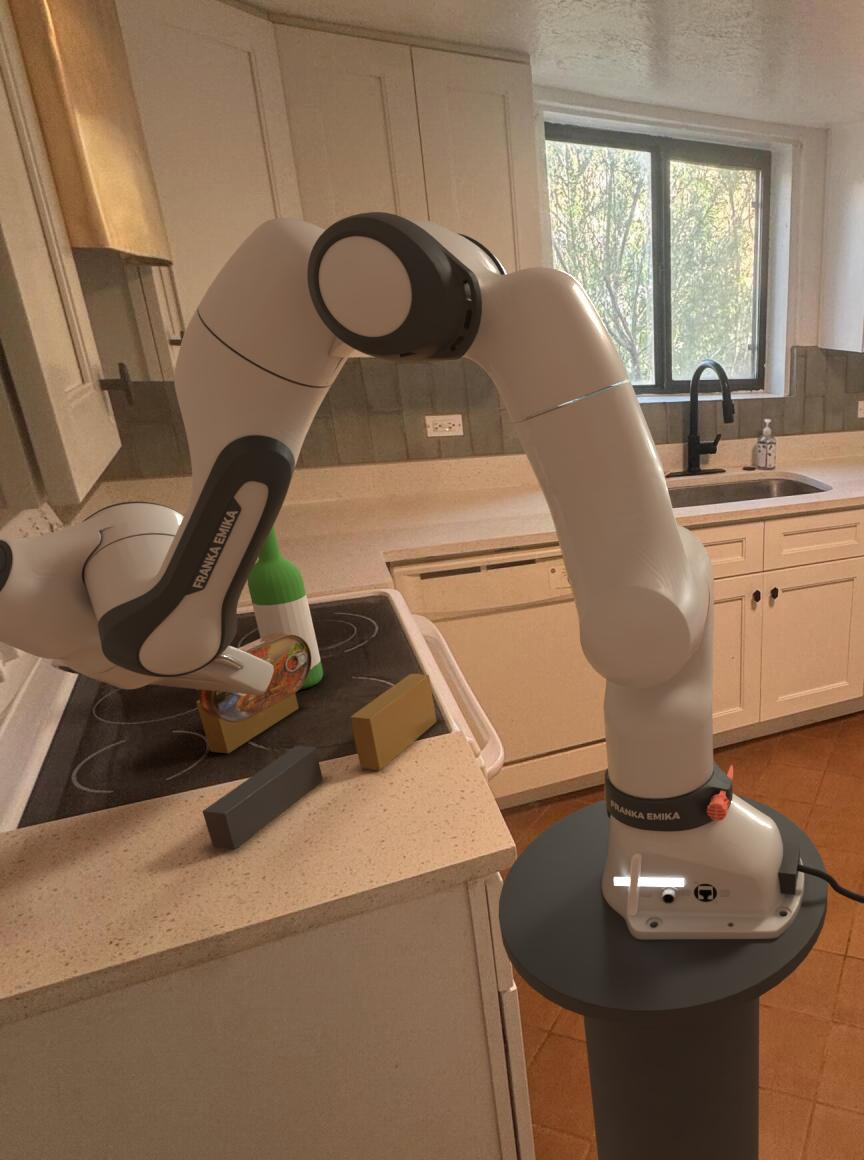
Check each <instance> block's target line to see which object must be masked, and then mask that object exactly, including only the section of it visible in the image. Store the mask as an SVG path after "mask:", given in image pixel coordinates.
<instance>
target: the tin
mask: <svg viewBox="0 0 864 1160" xmlns="http://www.w3.org/2000/svg"><path fill="white" fill-rule="evenodd" d="M236 648H237V649H240V650H242V651H245V652H247V653H249V654H251V655H254V656H256V657H258V658H260V659H262V660H264V661H267V662H269V663H270V664H272V665H273V668H274V672H273V675H272V678H271V681H270V683H269V685H268V687H267V689H266V691H265V693H264V694H262V695H251V694H246V695H245V696H235V695H231V694H229V693H226V692H221V691H211V690H201V689H198V690H197V691H198V692H197V693H198V700H200V704H201V706H202V708H203V710H204V711H205V712H206V713H207V714H209V715H210V716H212V717H215V718H219V719H223V720H225V721H228V722H241V721H244V720H247V719H249V718H250V717H252V716H254V715H256V714H258V713H260V712H261V711H263V710H265V709H267V708H269V707H271V706H272V705H274V704H276V703H278V702H280V701H282V700H284V699H286V698H287V697H289V696H291V695H293V694H294V693H295V694H296V693H297V692H298V691H300V690H299V689H300V688H301V687H302V686H303V684H304V683H305V681H306V679H307V677H308V675H309V672H310V668H311V652H310V648H309V646H308V644H307V643H306V641H305V640H304V639H302V638H301V637H299V636H296V635H287V634H281V633H274V634H269V635H267V636H264V637H262V638H257V639H255V640H253V641H251V642H248V643H247V644H244V645H242V646H240V647H236Z"/></svg>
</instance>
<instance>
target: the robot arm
mask: <svg viewBox="0 0 864 1160" xmlns="http://www.w3.org/2000/svg"><path fill="white" fill-rule="evenodd" d="M213 279H214V280H213V281H212V283H211V284H210V286H209V287H208V288H207V290H206V291H205V293H204V296H203V297H202V298H201V301H200V302H199V304H198V306H197V308H196V309H195V311H194V313H193V315H192V317H191V319H190V321H189V323H188V324H187V327H186V329H185V331H184V333H183V337H182V339H181V343H180V346H179V350H178V353H177V358H176V363H175V368H174V374H173V383H174V390H175V395H176V399H177V402H178V406H179V410H180V414H181V418H182V422H183V425H184V429H185V434H186V439H187V444H188V450H189V456H190V465H191V476H192V477H191V478H192V479H191V492H190V498H189V502H188V505H187V507H186V511H185V512H184V514H182V513H181V512H180V511H178V510H177V509H175V508H171V507H169V506H167V505H163V504H160V503H155V502H150V501H139V500H138V501H137V500H136V501H122V502H117V503H114V504H111V505H108V506H105V507H102V508H101V509H98V510H97V511H95V512H94V513H92V514H90V515H88V517H86V518H85V519H84V520H82V521H80V522H79V523H75V524H73V525H71V526H67V527H64V528H62V529H59V530H56V531H51V532H49V533H44V534H40V535H36V536H27V537H10V536H9V537H0V642H2V643H3V644H6V645H8V646H10V647H11V648H15V649H17V650H18V651H19V650H20V651H22V652H25V653H27V654H30V655H32V656H34V657H38V658H41V659H46V660H51V663H50V666H51V667H53V668H54V669H57V670H59V671H63V672H65V673H69V674H70V673H71V674H76V675H81V676H82V675H83V676H86V677H87V678H91V679H93V680H95V681H98V682H101V683H105V684H107V685H110V686H112V687H115V688H118V689H122V690H136V689H140V688H143V687H145V686H148V685H151V686H160V687H170V688H180V689H181V688H182V689H190V690H197V691H198V689H201V690H211V691H221V692H226V693H229V694H231V695H235V696H245V695H246V694H251V695H262V694H264V693H265V691H266V689H267V687H268V685H269V683H270V681H271V678H272V675H273V672H274V668H273V665H272V664H270V663H269V662H267V661H264V660H262V659H260V658H258V657H256V656H254V655H251V654H249V653H247V652H245V651H242V650H240V649H237V648H238V647H234V646H232V645H231V643H232V642H233V641H234V639H235V637H236V634H237V631H238V604H239V600H240V597H241V595H242V592H243V590H244V588H245V585H246V583H248V577H249V575H250V573H251V571H252V569H253V567H254V565H255V564H256V563H257V562H258V559H259V554H260V552H261V550H262V548H263V546H264V544H265V542H266V540H267V538H268V535H269V533H270V531H271V529H272V527H273V525H274V526H275V523H276V520H277V518H278V515H279V514H280V511H281V510H282V507H283V505H284V502H285V499H286V498H287V494H288V493H289V492H288V491H289V489H290V485H291V482H292V479H293V476H294V472H295V468H296V465H297V462H298V459H299V455H300V453H301V449H302V447H303V444H304V442H305V438H306V437H307V434H308V432H309V430H310V428H311V425H312V423H313V420H314V419H315V416H316V414H317V412H318V410H319V408H320V406H321V404H322V403H323V401H324V399H325V397H326V395H327V394H328V393H329V390H330V389H331V387H332V385H333V384H334V382H335V380H336V379H337V377H338V375H340V374H339V373H340V372H341V370H342V368H343V367H344V365H345V364H346V362H347V360H348V359H349V358H350V356H351V355H352V353H353V352H354V351H357V352H360V353H362V354H364V355H367V356H369V357H373V358H376V359H380V360H383V361H389V362H395V363H396V362H397V363H416V362H431V363H439V362H446V361H455V360H456V361H457V360H460V359H461V358H466V359H468V360H471V361H472V362H473V363H475V364H477V365H478V366H480V367H481V368H482V369H483V370H484V371H485V373H486V374H487V376H489V378H490V380H491V381H492V383H493V385H494V386H495V388H496V390H497V392H498V394H499V396H500V398H501V400H502V403H503V405H504V407H505V410H506V412H507V415H508V418H509V419H510V422H511V423H513V424H512V426H513V428H514V430H515V432H516V435H517V437H518V439H519V442H520V444H521V446H522V449H523V450H524V454H525V455H526V458H527V460H528V462H529V464H530V465H529V466H530V467H531V469H532V471H533V473H534V476H535V478H536V480H537V482H538V485H539V488H540V489H541V492H542V494H543V496H544V499H545V502H546V503H547V507H548V509H549V512H550V516H551V519H552V521H553V525H554V528H555V533H556V536H557V541H558V545H559V548H560V553H561V557H562V562H563V565H564V569H565V572H566V573H565V574H566V576H567V580H568V583H569V586H570V589H571V592H572V596H573V600H574V604H575V608H576V613H577V619H578V631H579V641H580V647H581V650H582V652H583V655H584V657H585V659H586V661H587V663H588V664H589V665H590V666H591V668H592V669H593V670H594V671H595V672H596V673H597V674H598V675H600V677H602V678H604V679H605V688H604V698H603V707H602V708H603V719H604V720H603V723H604V734H605V736H604V737H605V749H606V758H607V759H606V763H607V768H606V769H605V771H604V791H603V792H604V800H605V803H606V808H607V815H608V817H609V818H610V835H609V848H608V855H607V861H606V866H605V870H604V873H603V876H602V882H601V887H602V892H603V895H604V898H605V899H606V901H607V902H608V904H609V905H610V906H611V907H612V908H613V909H614V910H615V911H616V912H618V913H619V914H620V915H621V916H622V917H623V918H624V919H625V921H626V924H627V927H628V929H629V931H630V933H631V935H632V936H633V937H635V938H637V939H642V940H658V939H773V938H777V937H779V936H780V935H781V934H783V933H784V932H785V931H786V930H787V929H788V928H789V927H790V926H791V924H792V923H793V921H794V920H795V918H796V916H797V914H798V912H799V909H800V906H801V903H802V899H803V894H804V886H805V877H804V873H806V874H810V875H813V876H816V877H819V878H821V879H823V880H825V881H827V882H828V885H829V886H830V888H832V890H833V891H835V892H836V893H837V894H839V895H841V896H843V897H844V898H847V899H850V900H852V901H854V902H858V903H860V904H864V895H862V894H858V893H856V892H854V891H851V890H849V889H846V888H845V887H843V886H841V885H840V884H839V883H838V882H837V880H836V879H835V878H834V876H832V875H830V874H829V873H827V872H826V873H825V872H823V871H821V870H818V869H815V868H811V867H807V866H804V865H803V864H802V861H801V858H800V843H798V842H788V841H784V844H783V843H782V839H781V835H780V832H779V829H778V827H777V825H776V823H775V822H774V821H773V820H772V819H771V818H770V817H768V816H767V815H765V814H763V813H762V812H760V811H759V810H757V809H756V808H754V807H753V806H751V805H750V804H748V803H747V802H745V801H744V800H742V799H741V798H739V797H738V796H736V795H737V794H736V793H733V790H734V789H733V779H734V766H733V764H730V766H729V769H728V771H727V774H726V773H725V772H724V771H723V770H722V769H721V767H719V765H718V764H717V763H716V761H715V759H714V733H713V732H714V731H713V730H714V728H713V727H714V726H713V725H714V724H713V685H714V684H713V683H714V682H713V679H714V627H715V626H714V620H715V619H714V618H715V617H714V616H715V615H714V613H715V605H714V604H715V578H714V577H715V576H714V575H715V574H714V568H713V563H712V560H711V558H710V555H709V553H708V551H707V549H706V547H705V545H704V544H703V542H702V541H701V539H700V538H699V537H698V536H697V535H696V534H695V533H694V532H692V531H691V530H689V529H688V528H687V527H684V526H682V525H680V524H678V523H677V519H676V516H675V512H674V508H673V505H672V500H671V496H670V492H669V489H668V485H667V481H666V476H665V469H664V464H663V461H662V459H661V457H660V454H659V451H658V449H657V446H656V444H655V441H654V439H653V436H652V433H651V431H650V428H649V425H648V423H647V420H646V417H645V415H644V412H643V410H642V407H641V404H640V402H639V400H638V397H637V394H636V392H635V389H634V386H633V384H632V382H631V380H629V379H630V376H629V374H628V371H627V369H626V367H625V365H624V362H623V360H622V357H621V355H620V353H619V351H618V349H617V346H616V345H615V342H614V340H613V338H612V336H611V334H610V332H609V331H608V328H607V327H606V325H605V323H604V321H603V319H602V317H601V315H600V313H599V312H598V310H597V308H596V307H595V305H594V303H593V302H592V300H591V298H590V297H589V295H588V293H587V292H586V290H585V289H584V287H583V285H582V284H581V283H580V282H579V281H578V280H577V279H576V278H575V277H574V276H572V275H571V274H569V273H568V272H566V271H563V270H561V269H558V268H553V267H544V266H536V267H535V266H534V267H527V268H526V267H525V268H523V269H519V270H516V271H513V272H510V273H507V271H506V269H505V268H504V266H503V265H502V263H501V261H500V260H499V259H498V258H497V257H496V255H494V253H493V252H491V251H490V250H489V249H488V248H487V247H486V246H485V245H483V243H481V242H479V241H477V240H476V239H474V238H472V237H470V236H468V235H465V234H462V233H459V232H455V231H452V230H450V229H448V227H445V226H443V225H441V224H440V223H437V222H433V221H431V220H426V219H423V218H417V217H411V216H400V215H397V214H394V213H390V212H383V211H369V212H362V213H357V214H353V215H349V216H346V217H343V218H342V219H339V220H337V221H336V222H334V223H332V224H331V225H330V226H328V227H327V228H326V229H324V228H322V227H320V226H318V225H317V224H314V223H311V222H309V221H305V220H302V219H298V218H292V217H276V218H271V219H269V220H268V219H267V220H266V221H264V222H262V223H261V224H260V225H259V226H258V227H256V228H255V229H254V231H252V232H251V233H250V234H249V236H247V238H245V240H243V242H242V243H241V244H240V245H239V247H237V249H236V250H235V251H234V252H233V253H232V255H231V256H230V257H229V258H228V260H227V261H226V263H225V264H224V265H223V266H222V268H221V270H219V272H218V273H217V275H216V276H215V278H213ZM627 380H628V381H627ZM514 422H515V423H514ZM735 794H736V795H735ZM782 916H784V917H782ZM653 927H655V928H653Z"/></svg>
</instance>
